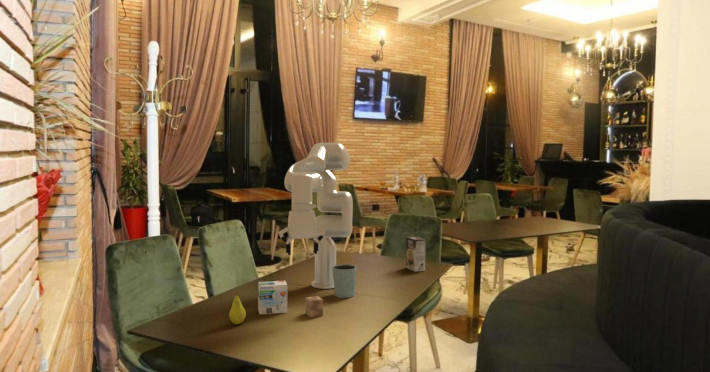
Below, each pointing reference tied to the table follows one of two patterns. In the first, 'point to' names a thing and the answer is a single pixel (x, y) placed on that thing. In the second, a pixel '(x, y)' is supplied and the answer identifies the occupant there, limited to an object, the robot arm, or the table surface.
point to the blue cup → (344, 280)
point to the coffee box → (415, 253)
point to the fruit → (237, 311)
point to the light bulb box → (272, 297)
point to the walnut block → (314, 306)
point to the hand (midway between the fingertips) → (302, 253)
